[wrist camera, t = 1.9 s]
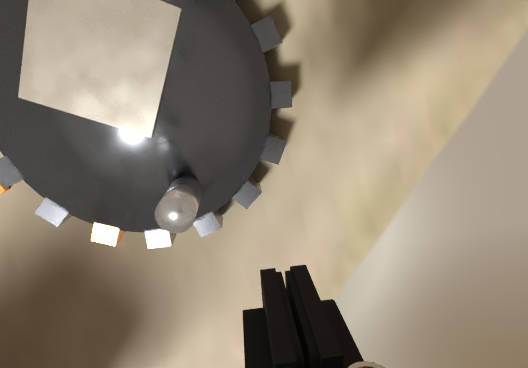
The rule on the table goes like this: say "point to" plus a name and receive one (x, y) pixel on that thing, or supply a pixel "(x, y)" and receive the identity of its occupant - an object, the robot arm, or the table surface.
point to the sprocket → (137, 111)
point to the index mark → (3, 188)
